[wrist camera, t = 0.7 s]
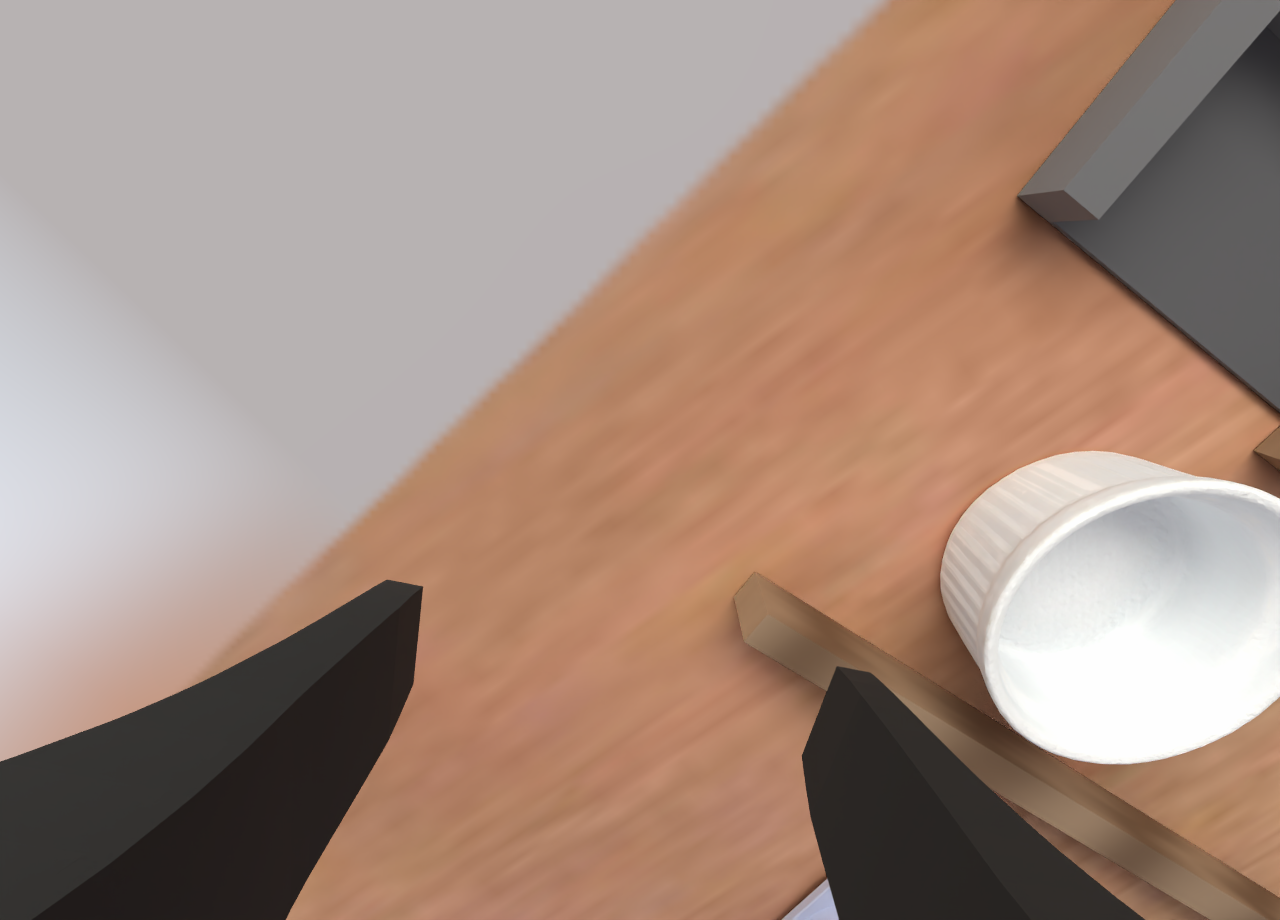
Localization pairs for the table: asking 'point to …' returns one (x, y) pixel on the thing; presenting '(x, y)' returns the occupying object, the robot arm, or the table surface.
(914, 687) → the walnut channel
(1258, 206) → the grey e-shaped block
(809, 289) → the table surface
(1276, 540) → the ramekin
